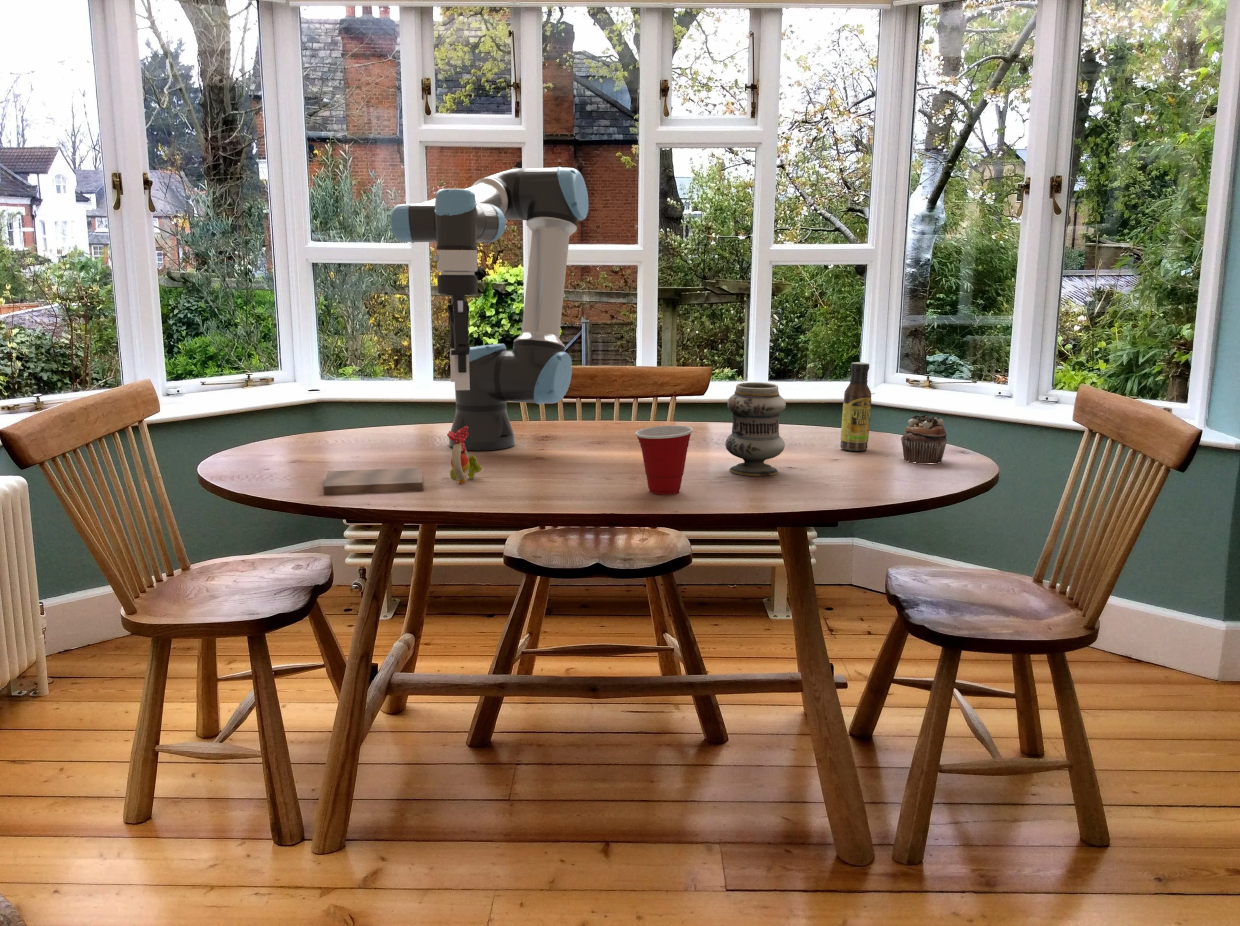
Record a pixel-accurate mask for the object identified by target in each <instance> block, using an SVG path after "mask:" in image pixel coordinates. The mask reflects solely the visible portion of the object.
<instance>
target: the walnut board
mask: <svg viewBox="0 0 1240 926" xmlns="http://www.w3.org/2000/svg"><path fill="white" fill-rule="evenodd" d="M422 474H423V473H422V469H421V467H405V468H402V467H401V468H378V469H377V468H376V469H355V470H353V469H352V470H349V469H348V470H329V471H327V473H326V476H325V480H324V484H323V495H340V494H341V495H343V494H344V493H345V494H364V493H365V494H366V493H367V494H368V492H369V493H388V492H410V491H411V492H412V491H413V492H414V491H424V481H423V475H422Z"/></svg>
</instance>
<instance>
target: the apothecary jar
mask: <svg viewBox="0 0 1240 926" xmlns="http://www.w3.org/2000/svg"><path fill="white" fill-rule="evenodd" d="M726 403H727V409H728V410H729V411H730V412H732V426H731V428H732V429H731V434H729V436H727V438H726V440H725V443H724V444H725V445H724V446H725V449H726V450H727V451H728V453H729V454H730V455H732V456H734V457H736V458H739V459H742V460H743V461H744V462H739V463H738V464H736V465H733V466H731V467H730V468H729V472H730V473H732V474H735V475H740V476H745V477H765V476H769V477H771V476H775V475H777V474H778V473H779V471H778V469H777V468H776V467H773V466H772V465H770V464H768V463H765V461H767V460H770V459H773V458H776V457H778V456H779V455H781V454H782V453H783V452H784V450H785V446H786V445H785V443H786V442H785V441H784V439H783V437H781V436H780V414H781V413H782V412H784V411H785V409H786V405H787V404H786V403H787V402H786V401H785V399H784V397H782V396H781V395H780V392H779V385H778V384H775V383H769V382H762V381H761V382H760V381H759V382H752V381H751V382H741V383H737V384H736V385H735V390H734V393H733V394H732V395H731V396H729V398H728V399H727V402H726Z"/></svg>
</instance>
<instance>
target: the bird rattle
mask: <svg viewBox="0 0 1240 926" xmlns="http://www.w3.org/2000/svg"><path fill="white" fill-rule="evenodd" d="M467 430H468V426H465V427H464V428H462V429H460V430H457V431H456V434H455V433H453V432H451V430H450V431H448V433H446V435H447V438H448V440H449V439H451V440H452V441H454V442H455V443H454V445H453V448H452V452H451V453H452V454H451V456H452V457H451V461H450V465H451V470H450V471H449V476H450V479H452V480H457V483H458V484H460V485H461V484H462V485H463V484H465V483H466V481H467V478H469V479H474V477H475V474H476V473H480V472H481V470H482V466H481V465H480V464H479V463H478V460H477V457H476V456H475V455H472V454H471V455H470V456H469V454H468V450H466V446H465V444H464V443H463V442H464V441H465V440H466V439H467V437H468V435H469V433H468V432H467Z"/></svg>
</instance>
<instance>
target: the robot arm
mask: <svg viewBox="0 0 1240 926" xmlns="http://www.w3.org/2000/svg"><path fill="white" fill-rule="evenodd" d="M588 214H589V193H588V189H587V186H586V183H585V179H584V177H583V175H582V173H581V172H580V171H579V170H578V169H576V168H573V167H562V166H557V167H536V168H535V167H531V168H530V167H529V168H522V167H521V168H520V167H519V168H512V169H508V170H504V171H500V172H497V173H494V174H491V175H489V176H485V177H482V178H479V179H477V180H475V182H474V183H473V184H472V185H471V186H470V187H467V188H443V189H438V190H437V191H436V192H435V198H433V199H429V200H426V201H423V202H418V203H411V202H409V203H408V202H407V203H401V204H400V203H399V204H397V205H395V206H394V208H393V209H392V211H391V215H390V228H391V232H392V235H393V236H394V237H395V239H396V240H398V241H399V242H401V243H403V242H404V243H411V244H415V243H436V255H435V254H434V255H433V261H436V269H437V272H438V273H439V272H440V274H438V275H437V277H436V279H437V280H436V283H437V285H436V286H437V294H438V295H440V296H450V298H449V300H448V303H449V304H447V305H446V311H447V312H446V313H447V317H448V318H447V319H448V320H447V321H448V324H449V339H448V342H449V347H450V349H449V359H450V360H449V363H450V382H451V383H454V391H455V395H454V396H455V414H454V418H453V422H452V425H451V428H450V431H451V432H453V433H455V434H456V431H457V430H460V429H462V428H464V427H465V426H468V430H467V432H468V433H469V435H468V437H467V439H466V440H465V441H464V442H463V443H464V444H465V446H466V450H467V451H495V450H502V449H507V448H511V447H514V446H515V444H516V442H515V441H516V439H515V433H514V429H513V427H512V424H511V421H510V418H509V414H508V411H507V410H508V409H507V408H508V407H507V402H508V403H510V402H511V403H528V404H537V405H544V404H557V403H559V402H560V401H561V400H562V399H564V396H566V394H567V392H568V390H569V388H570V384H571V381H572V376H573V375H572V374H573V366H572V364H573V362H572V358H571V356H570V354H568V352H566V351H565V349H566V346H565V345H564V343H563V342H562V340H561V339H560V334H561V333H560V331H561V325H562V324H561V323H562V312H563V303H564V296H565V295H564V293H565V283H566V274H567V266H568V265H567V264H568V255H569V254H568V253H569V244H570V237H571V235H573V234H574V233H576V232H577V230H578V221H579V222H580V221H581V222H582V221H583V220H585V219H586V218H587V216H588ZM506 220H509V221H510V220H514V221H526V223H525V224H526V226H527V227H528V229H529V230H530V231H531V239H530V240H531V241H530V247H529V248H530V249H529V258H528V268H527V278H526V285H525V286H526V287H525V295H524V305H523V307H524V308H523V316H522V323H521V324H522V325H521V333H520V335H519V336H518V337H516V338H515V339H514V340H513V345H512V350H507V346H506V344H505V343H495V344H494V343H492V344H486V345H485V344H484V345H478V346H470V341H469V340H470V339H469V338H470V337H469V322H470V320H469V317H470V316H469V315H470V305H469V303H468V301H467V300H466V297H465V296H474V295H477V294H478V291H479V289H478V276H477V275H476V274H475V273H476V272H478V269H479V268H478V250H477V249H478V248H477V243H481V244H489V243H493V242H496V241H498V240H499V239H500V238H501V237H502V236H503V234H504V233H505V230H506V225H507V222H506ZM454 443H455V442H454V441H452V440H451V439H449V438H448V445H449V447H450V448H452V449H453V445H454Z"/></svg>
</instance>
